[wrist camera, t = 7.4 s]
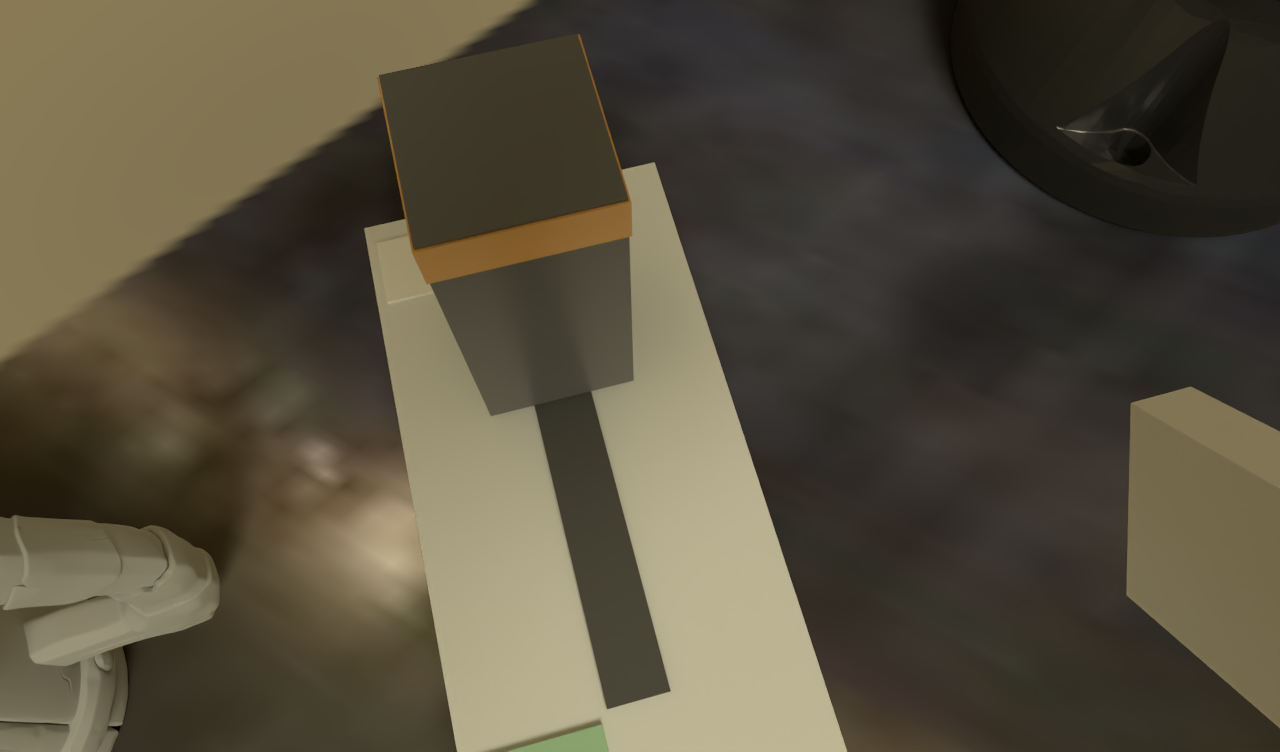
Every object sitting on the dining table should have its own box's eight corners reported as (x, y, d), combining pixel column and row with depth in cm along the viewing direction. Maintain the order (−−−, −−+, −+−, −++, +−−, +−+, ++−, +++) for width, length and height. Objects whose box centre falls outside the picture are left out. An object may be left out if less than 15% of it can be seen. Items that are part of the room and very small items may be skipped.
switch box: (653, 230, 32) (654, 159, 28) (824, 774, 25) (857, 778, 21) (397, 290, 31) (362, 225, 27) (506, 868, 24) (480, 891, 21)
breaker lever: (599, 255, 27) (579, 30, 18) (635, 381, 25) (631, 199, 17) (460, 288, 26) (375, 73, 18) (489, 418, 25) (410, 250, 16)
